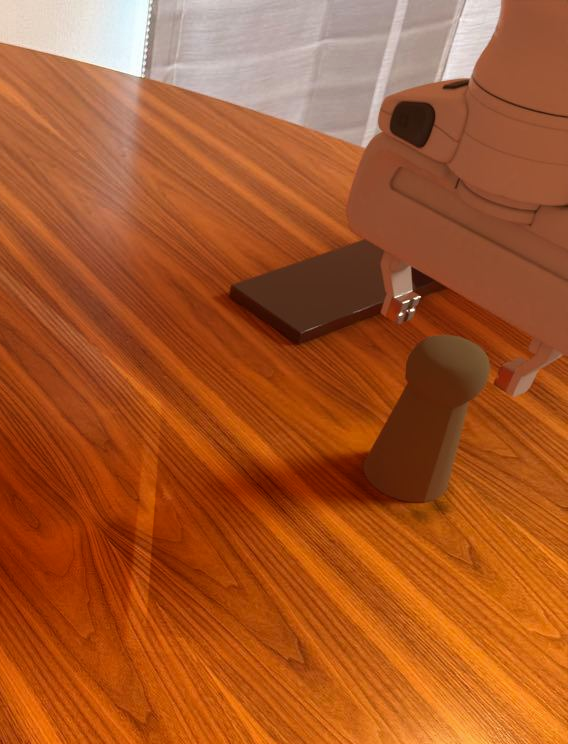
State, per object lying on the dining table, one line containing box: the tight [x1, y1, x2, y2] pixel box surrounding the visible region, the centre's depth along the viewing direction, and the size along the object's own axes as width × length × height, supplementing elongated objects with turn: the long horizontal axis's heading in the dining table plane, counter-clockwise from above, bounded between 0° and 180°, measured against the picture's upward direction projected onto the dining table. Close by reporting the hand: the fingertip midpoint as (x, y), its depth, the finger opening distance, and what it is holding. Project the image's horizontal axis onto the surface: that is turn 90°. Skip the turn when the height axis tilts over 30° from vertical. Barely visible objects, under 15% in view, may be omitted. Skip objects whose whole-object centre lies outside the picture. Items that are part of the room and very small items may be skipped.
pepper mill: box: [362, 334, 491, 503], centre depth 67 cm, size 6×6×11 cm
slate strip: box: [228, 238, 447, 345], centre depth 89 cm, size 20×9×1 cm, turn 122°
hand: (450, 352), depth 64 cm, fingers open, 8 cm apart
